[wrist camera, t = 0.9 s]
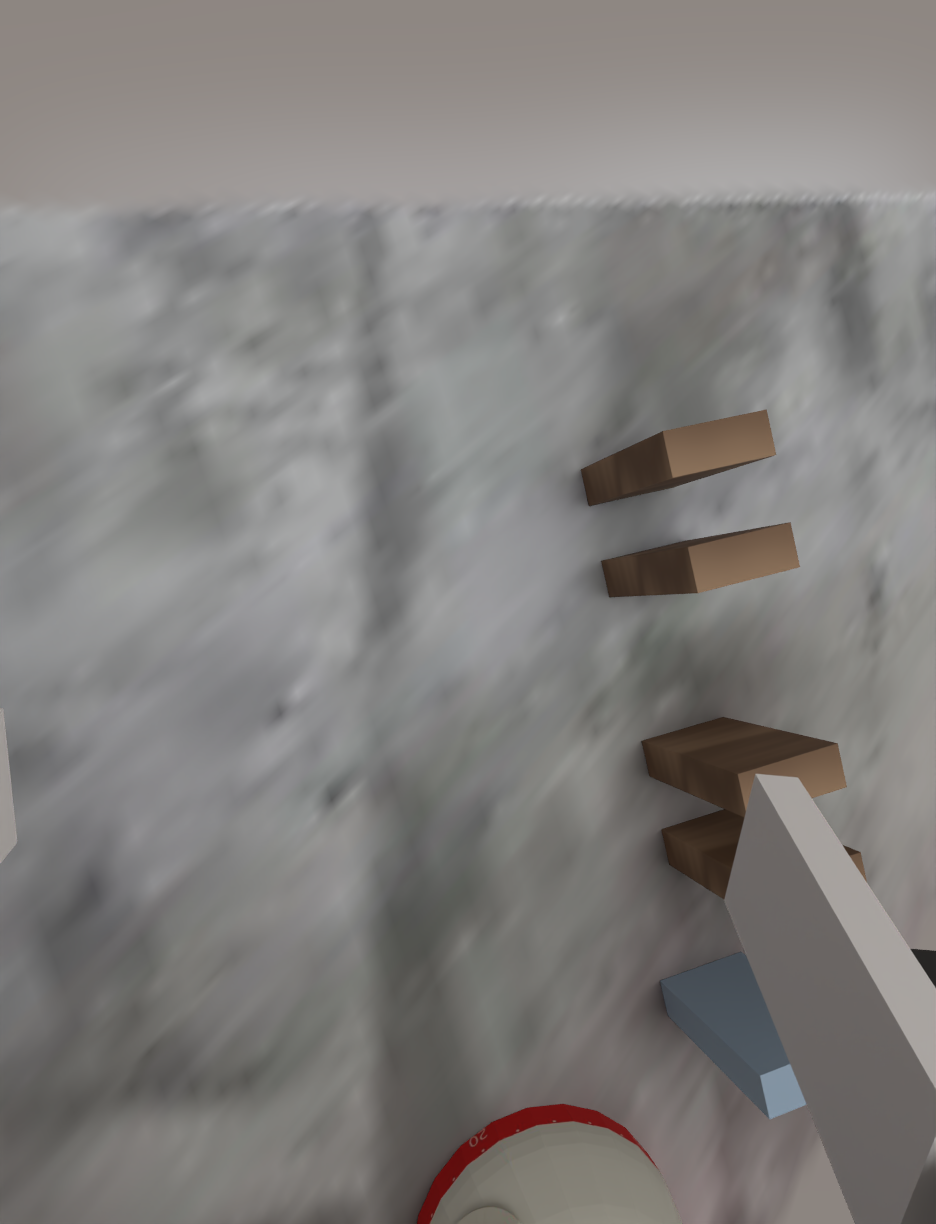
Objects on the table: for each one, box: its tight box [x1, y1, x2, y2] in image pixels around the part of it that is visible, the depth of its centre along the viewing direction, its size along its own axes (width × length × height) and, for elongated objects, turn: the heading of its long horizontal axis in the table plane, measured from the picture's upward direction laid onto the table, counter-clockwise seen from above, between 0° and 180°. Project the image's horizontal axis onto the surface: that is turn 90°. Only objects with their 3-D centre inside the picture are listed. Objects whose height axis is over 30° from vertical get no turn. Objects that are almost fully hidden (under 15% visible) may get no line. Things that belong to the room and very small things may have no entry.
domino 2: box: [601, 523, 800, 597], centre depth 42 cm, size 2×5×10 cm, turn 104°
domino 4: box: [662, 809, 867, 899], centre depth 43 cm, size 2×5×10 cm, turn 104°
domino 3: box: [642, 717, 847, 818], centre depth 43 cm, size 2×5×10 cm, turn 104°
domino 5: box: [660, 952, 806, 1119], centre depth 43 cm, size 2×5×10 cm, turn 104°
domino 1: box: [581, 410, 776, 506], centre depth 42 cm, size 2×5×10 cm, turn 104°
